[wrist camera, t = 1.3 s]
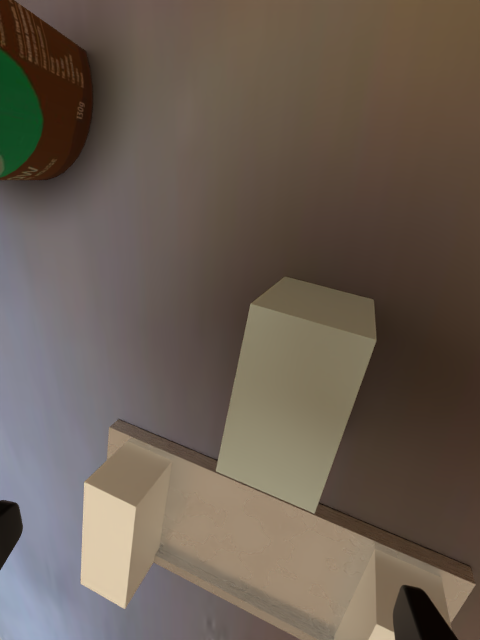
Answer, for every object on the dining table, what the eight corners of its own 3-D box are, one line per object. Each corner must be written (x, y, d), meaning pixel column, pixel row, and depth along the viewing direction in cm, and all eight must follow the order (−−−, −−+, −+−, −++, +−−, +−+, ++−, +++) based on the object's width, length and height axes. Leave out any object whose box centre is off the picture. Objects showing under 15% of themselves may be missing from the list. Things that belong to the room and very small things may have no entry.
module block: (373, 299, 17) (376, 340, 12) (329, 431, 20) (314, 513, 15) (285, 276, 18) (250, 303, 13) (254, 404, 21) (215, 471, 16)
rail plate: (470, 567, 19) (479, 595, 18) (406, 669, 23) (409, 701, 21) (118, 419, 25) (103, 432, 24) (110, 520, 29) (97, 536, 27)
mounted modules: (441, 577, 19) (458, 664, 15) (386, 671, 22) (389, 761, 18) (127, 441, 24) (84, 482, 20) (118, 533, 27) (80, 583, 23)
